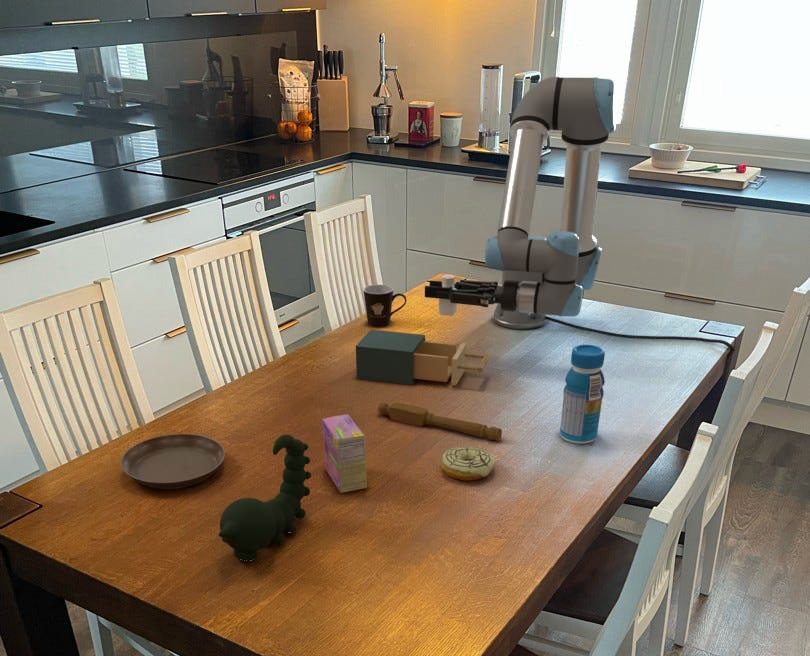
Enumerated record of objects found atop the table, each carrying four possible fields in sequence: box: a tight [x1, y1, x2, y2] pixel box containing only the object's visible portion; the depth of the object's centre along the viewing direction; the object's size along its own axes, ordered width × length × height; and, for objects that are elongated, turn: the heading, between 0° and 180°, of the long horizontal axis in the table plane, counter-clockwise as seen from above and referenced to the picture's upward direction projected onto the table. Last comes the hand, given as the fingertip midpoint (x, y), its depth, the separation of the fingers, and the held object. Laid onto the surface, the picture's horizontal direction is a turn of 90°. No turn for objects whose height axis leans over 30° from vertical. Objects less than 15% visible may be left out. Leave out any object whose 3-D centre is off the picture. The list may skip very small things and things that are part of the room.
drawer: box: [413, 340, 491, 386], centre depth 212 cm, size 20×11×7 cm, turn 74°
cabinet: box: [355, 329, 426, 386], centre depth 216 cm, size 15×12×9 cm
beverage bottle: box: [559, 344, 606, 445], centre depth 183 cm, size 8×8×20 cm
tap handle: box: [377, 402, 503, 442], centre depth 191 cm, size 3×3×30 cm
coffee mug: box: [362, 284, 407, 328], centre depth 245 cm, size 12×9×10 cm
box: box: [321, 413, 368, 494], centre depth 169 cm, size 10×6×12 cm, turn 21°
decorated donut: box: [441, 446, 496, 482], centre depth 174 cm, size 10×11×4 cm
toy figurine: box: [218, 434, 312, 563], centre depth 149 cm, size 9×19×25 cm
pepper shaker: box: [438, 274, 458, 317], centre depth 216 cm, size 4×4×10 cm
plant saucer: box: [120, 433, 226, 490], centre depth 175 cm, size 21×21×3 cm
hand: (427, 288), depth 217 cm, fingers closed on pepper shaker, 4 cm apart
